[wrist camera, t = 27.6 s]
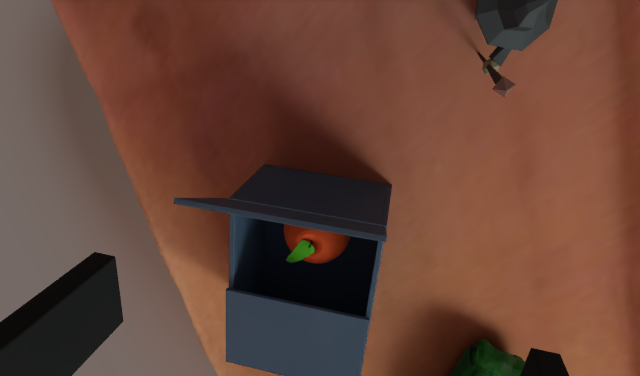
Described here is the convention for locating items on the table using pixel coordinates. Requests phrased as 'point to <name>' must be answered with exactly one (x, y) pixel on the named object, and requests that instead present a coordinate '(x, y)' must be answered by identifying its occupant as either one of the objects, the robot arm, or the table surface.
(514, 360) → the snack package
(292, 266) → the carton
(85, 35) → the table surface
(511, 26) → the wizard figurine
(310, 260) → the clementine
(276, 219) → the flap
